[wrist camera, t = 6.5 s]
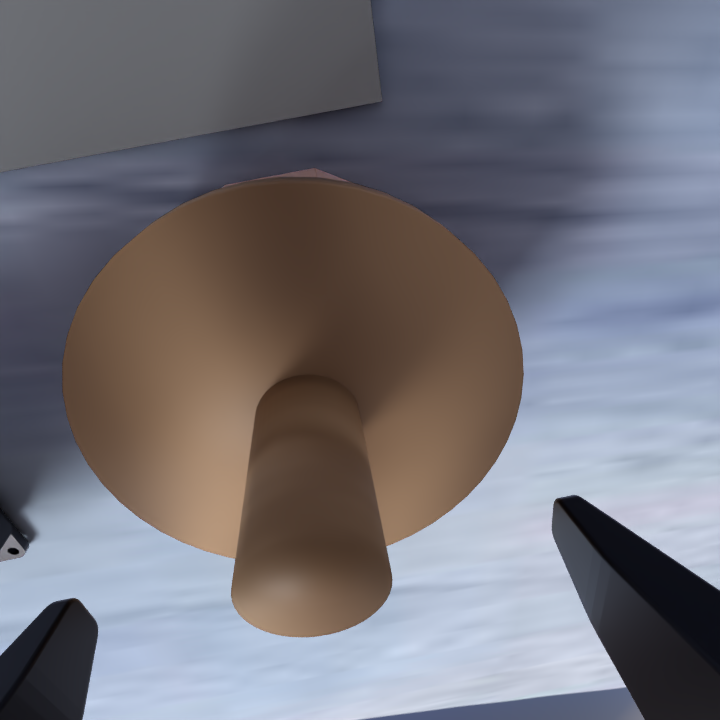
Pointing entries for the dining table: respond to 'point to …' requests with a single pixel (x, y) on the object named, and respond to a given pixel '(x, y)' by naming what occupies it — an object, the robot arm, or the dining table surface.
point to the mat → (172, 70)
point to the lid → (294, 387)
